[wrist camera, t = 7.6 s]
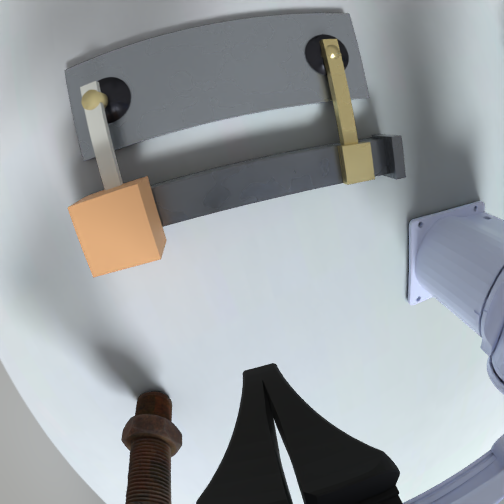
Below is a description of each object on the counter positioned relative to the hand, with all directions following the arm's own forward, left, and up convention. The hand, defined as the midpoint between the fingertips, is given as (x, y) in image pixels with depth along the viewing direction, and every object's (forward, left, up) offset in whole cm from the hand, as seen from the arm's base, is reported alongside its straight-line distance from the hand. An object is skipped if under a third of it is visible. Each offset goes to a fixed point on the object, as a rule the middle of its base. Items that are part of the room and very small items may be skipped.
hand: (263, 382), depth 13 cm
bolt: (+10, +10, -11) cm, 18 cm away
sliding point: (+5, -10, -9) cm, 14 cm away
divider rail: (-2, -10, -10) cm, 14 cm away
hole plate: (-2, -14, -10) cm, 17 cm away
